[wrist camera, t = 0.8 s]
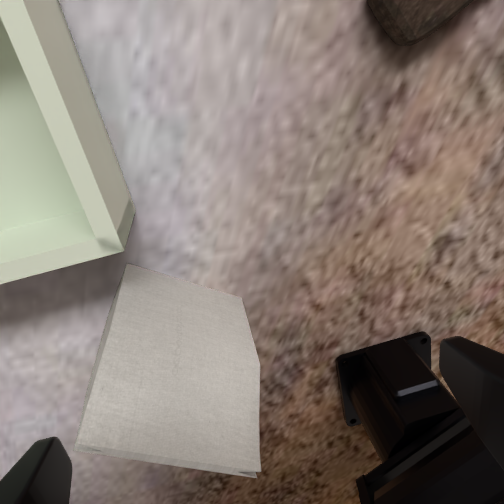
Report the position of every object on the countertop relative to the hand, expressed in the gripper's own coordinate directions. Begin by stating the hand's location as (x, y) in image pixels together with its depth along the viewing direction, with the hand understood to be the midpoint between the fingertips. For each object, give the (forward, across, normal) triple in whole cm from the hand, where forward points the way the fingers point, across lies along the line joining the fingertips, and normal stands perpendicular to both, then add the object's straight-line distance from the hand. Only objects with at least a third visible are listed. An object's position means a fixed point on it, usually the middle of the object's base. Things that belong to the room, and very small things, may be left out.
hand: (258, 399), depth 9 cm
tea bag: (+13, +3, +5) cm, 15 cm away
